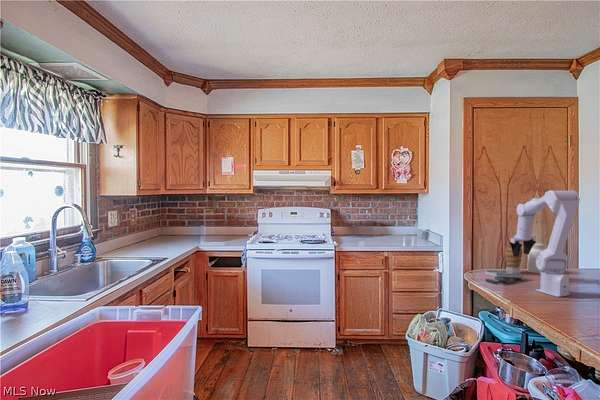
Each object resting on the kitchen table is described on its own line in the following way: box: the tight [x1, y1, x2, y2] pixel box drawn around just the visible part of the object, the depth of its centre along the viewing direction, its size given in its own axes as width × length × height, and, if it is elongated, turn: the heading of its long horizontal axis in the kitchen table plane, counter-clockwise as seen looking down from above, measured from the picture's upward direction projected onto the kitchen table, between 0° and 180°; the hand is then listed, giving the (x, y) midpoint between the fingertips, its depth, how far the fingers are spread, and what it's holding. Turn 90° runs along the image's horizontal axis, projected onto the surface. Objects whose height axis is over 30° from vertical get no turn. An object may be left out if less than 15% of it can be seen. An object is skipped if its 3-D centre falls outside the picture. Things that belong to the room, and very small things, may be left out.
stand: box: [485, 276, 523, 285], centre depth 163 cm, size 7×18×2 cm, turn 112°
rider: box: [505, 266, 521, 274], centre depth 165 cm, size 3×5×4 cm
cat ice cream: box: [504, 239, 523, 268], centre depth 178 cm, size 9×8×18 cm
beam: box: [484, 269, 524, 279], centre depth 163 cm, size 6×18×2 cm, turn 112°
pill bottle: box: [526, 242, 544, 275], centre depth 180 cm, size 8×8×15 cm
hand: (520, 255), depth 168 cm, fingers open, 7 cm apart
